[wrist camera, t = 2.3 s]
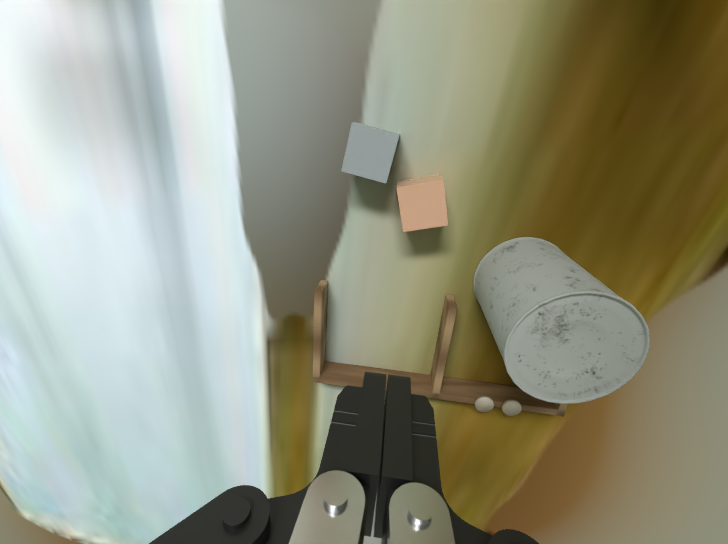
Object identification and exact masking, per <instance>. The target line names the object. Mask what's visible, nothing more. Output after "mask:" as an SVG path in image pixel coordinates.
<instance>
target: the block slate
mask: <svg viewBox="0 0 728 544" xmlns="http://www.w3.org/2000/svg"><path fill="white" fill-rule="evenodd" d="M399 136H400V134H397V133H393V132H389V131H386V130H382V129H378V128H375V127H371V126H368V125H364V124H360V123H355V122H352V124H351V129H350V134H349V138H348V143H347V148H346V152H345V157H344V161H343V166H342V172H346V173H349V174H353V175H357V176H360V177H364V178H367V179H371V180H375V181H378V182H382V183H386V182H387V179H388V176H389V173H390V169H391V165H392V162H393V158H394V154H395V151H396V147H397V143H398V140H399Z"/></svg>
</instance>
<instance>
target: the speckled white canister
mask: <svg viewBox="0 0 728 544" xmlns="http://www.w3.org/2000/svg"><path fill="white" fill-rule="evenodd" d="M473 285H474V293H475V296H476V299H477V301H478V302H479V304H480V306H481V308H482V311H483V313H484V315H485V318H486V320H487V322H488V325H489V327H490V329H491V332H492V334H493V336H494V339H495V341H496V343H497V346H498V348H499V351H500V353H501V355H502V358H503V360H504V363H505V366H506V370H507V373H508V374H509V376H510V377H511V379H512V380H513V382H514V383H515V384H516V385H517V386H518V387H519V388H520V389H521V390H523V391H524V392H526V393H527V394H529V395H531V396H533V397H534V398H537V399H540V400H544V401H547V402H552V403H560V404H571V403H582V402H587V401H591V400H594V399H598V398H600V397H603V396H606V395H608V394H610V393H612V392H613V391H615V390H617V389H619V388H621V387H622V386H623V385H624V384H625V383H627V382H628V381H629V380H630V379H631V378H633V377H634V375H635V374H636V373H637V372H638V370H639V369H640V368H641V367H642V365H643V362H644V361H645V359H646V356H647V354H648V350H649V344H650V337H649V329H648V326H647V324H646V322H645V320H644V317H643V316H642V314H641V313H640V312H639V311H638V310H637V309H636V308H635V307H634V306H633V305H632V304H630V303H629V302H627V301H625V300H624V299H622V298H621V297H619V296H618V295H617V294H615V293H614V292H613V291H612V290H610V289H609V288H608V287H606V286H605V285H604V284H603V283H601V282H600V281H599V280H597V279H596V278H595V277H594V276H592V275H591V274H590V273H588V272H587V271H586V270H585V269H583V268H582V267H581V266H580V265H578V264H577V263H576V262H574V261H573V260H572V259H571V258H569V257H568V256H567V255H565V254H564V253H563V252H562V251H561V250H560V249H559V248H558V247H557V246H555V245H554V244H552V243H550V242H549V241H546V240H543V239H540V238H532V237H523V238H515V239H512V240H509V241H506V242H503V243H502V244H500V245H498V246H496V247H494V248H493V249H492V250H491V251H490V252H488V253H487V254H486V255H485V257H484V258H483V259H482V260H481V262H480V263H479V265H478V267H477V269H476V271H475V276H474V280H473Z"/></svg>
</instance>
